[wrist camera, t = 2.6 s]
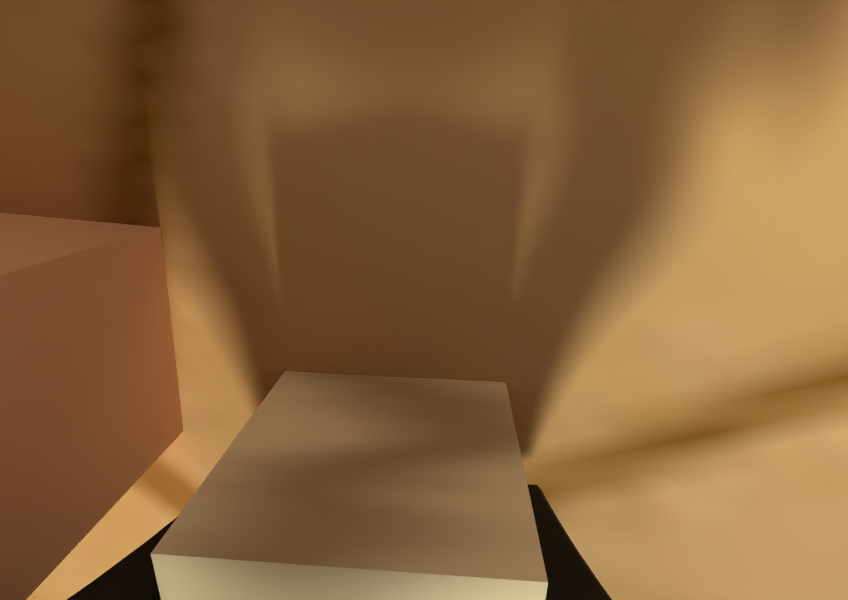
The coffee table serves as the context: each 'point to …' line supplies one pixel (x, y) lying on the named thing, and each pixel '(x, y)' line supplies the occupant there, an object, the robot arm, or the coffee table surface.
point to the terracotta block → (77, 382)
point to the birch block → (362, 498)
